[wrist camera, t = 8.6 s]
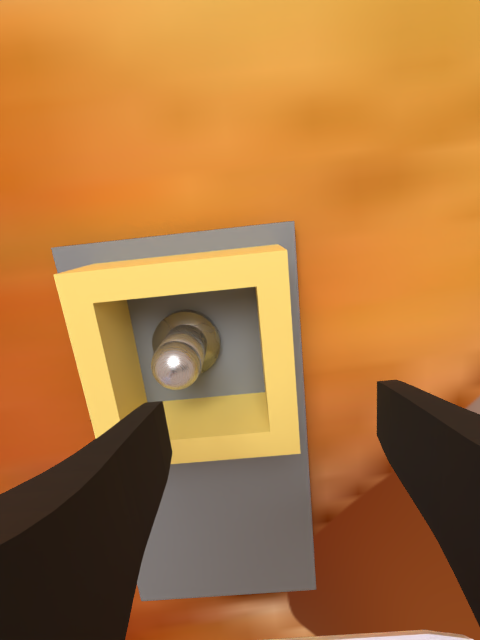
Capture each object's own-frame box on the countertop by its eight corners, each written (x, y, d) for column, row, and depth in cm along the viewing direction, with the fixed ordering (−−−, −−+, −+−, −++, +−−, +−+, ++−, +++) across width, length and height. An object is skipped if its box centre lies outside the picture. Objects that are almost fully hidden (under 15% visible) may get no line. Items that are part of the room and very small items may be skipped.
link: (129, 424, 21) (103, 469, 17) (93, 263, 18) (53, 274, 14) (289, 410, 21) (300, 453, 17) (277, 244, 18) (287, 249, 14)
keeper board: (145, 587, 26) (141, 601, 25) (61, 246, 19) (51, 247, 18) (313, 575, 26) (316, 589, 25) (291, 221, 19) (294, 221, 18)
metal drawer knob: (160, 374, 20) (137, 416, 16) (149, 312, 19) (121, 339, 15) (224, 368, 20) (218, 409, 16) (216, 306, 19) (207, 330, 15)
